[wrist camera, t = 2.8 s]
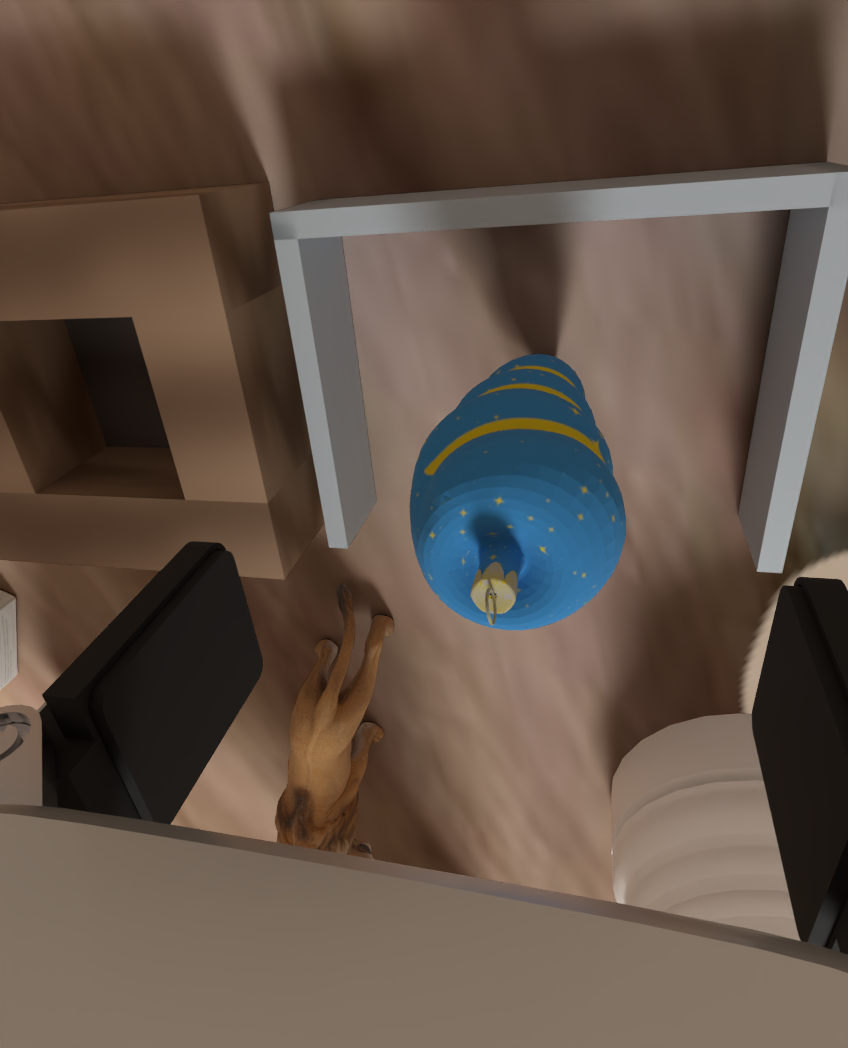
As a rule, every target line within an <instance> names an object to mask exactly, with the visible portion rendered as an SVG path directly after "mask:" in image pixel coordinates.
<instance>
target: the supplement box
mask: <svg viewBox="0 0 848 1048" xmlns="http://www.w3.org/2000/svg"><path fill="white" fill-rule="evenodd" d="M17 674H18V666H17V632H16V598H15V597H14V596H12V595H10V594H8V593H6V592H4V591H2V590H0V690H1V689H2V688H3V687H5V686H6V685H7V684H8V683H9V682H10V681H11V680H12V679H13V678H14V677H15V676H16V675H17Z"/></svg>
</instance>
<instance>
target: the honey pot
mask: <svg viewBox="0 0 848 1048" xmlns="http://www.w3.org/2000/svg"><path fill="white" fill-rule="evenodd" d="M611 853H612V868H613V874H612V886H613V891H614V895H615V898H616V901H617V903H621V904H626V905H631V906H636V907H642V908H647V909H652V910H657V911H662V912H667V913H672V914H677V915H682V916H687V917H692V918H698V919H703V920H708V921H713V922H718V923H723V924H728V925H733V926H738V927H743V928H748V929H753V930H757V931H761V932H765V933H769V934H774V935H778V936H782V937H786V938H790V939H794V940H799V941H801V940H800V938H799V935H798V932H797V928H796V923H795V919H794V914H793V910H792V905H791V901H790V896H789V892H788V887H787V883H786V879H785V874H784V870H783V865H782V861H781V856H780V852H779V847H778V843H777V838H776V834H775V829H774V825H773V821H772V816H771V812H770V807H769V803H768V798H767V794H766V789H765V785H764V780H763V776H762V772H761V767H760V763H759V758H758V754H757V749H756V745H755V740H754V736H753V730H752V714H746V713H745V714H743V713H739V714H726V715H713V716H702V717H699V718H695V719H691V720H688V721H684V722H680V723H677V724H673V725H669V726H667V727H665V728H664V729H662V730H660V731H658V732H656V733H654V734H652V735H650V736H648V737H646V738H644V739H643V740H641V741H640V742H639V743H638V744H637V745H636V746H635V747H634V748H633V749H632V750H631V751H630V752H629V753H628V754H626V755H625V756H624V757H623V759H622V761H621V763H620V765H619V767H618V768H617V770H616V772H615V774H614V776H613V780H612V793H611Z"/></svg>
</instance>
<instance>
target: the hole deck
mask: <svg viewBox="0 0 848 1048" xmlns="http://www.w3.org/2000/svg"><path fill="white" fill-rule="evenodd" d="M270 212H274V209H273V204H272V198H271V192H270V187H269V182H262V183H250V184H238V185H226V186H214V187H202V188H190V189H178V190H166V191H153V192H141V193H129V194H117V195H105V196H93V197H81V198H69V199H57V200H45V201H33V202H21V203H9V204H0V560H10V561H25V562H39V563H53V564H68V565H82V566H97V567H111V568H125V569H140V570H154V571H161V570H162V569H163V568H164V567H165V566H166V565H167V563H168V562H169V561H170V560H171V559H172V558H173V557H174V556H175V555H176V554H177V553H178V552H179V551H180V550H181V549H182V548H183V547H184V546H185V545H186V544H187V543H188V542H191V541H200V542H217V543H221V544H223V546H224V547H225V548H226V551H230V552H231V553H232V554H233V556H234V559H235V562H236V566H237V569H238V573H239V576H241V577H255V578H269V579H284V580H285V578H286V577H287V576H288V574H289V573H290V571H291V570H292V569H293V567H294V566H295V564H296V563H297V561H298V560H299V559H300V557H301V556H302V554H303V553H304V551H305V550H306V549H307V547H308V546H309V544H310V543H311V541H312V540H313V539H314V537H315V536H316V534H317V533H318V531H319V530H320V529H321V527H322V526H323V524H324V523H325V522H324V516H323V511H322V505H321V500H320V494H319V488H318V483H317V477H316V472H315V466H314V460H313V455H312V449H311V444H310V438H309V432H308V427H307V421H306V416H305V410H304V405H303V399H302V393H301V388H300V382H299V377H298V371H297V365H296V360H295V354H294V349H293V343H292V337H291V332H290V326H289V321H288V315H287V309H286V304H285V298H284V293H283V287H282V282H281V276H280V270H279V265H278V259H277V254H276V248H275V242H274V237H273V231H272V226H271V220H270V214H269V213H270Z"/></svg>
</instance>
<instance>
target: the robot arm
mask: <svg viewBox="0 0 848 1048" xmlns="http://www.w3.org/2000/svg"><path fill="white" fill-rule="evenodd" d="M262 667H263V660H262V655H261V651H260V648H259V644H258V641H257V637H256V634H255V630H254V626H253V623H252V619H251V616H250V612H249V609H248V605H247V601H246V598H245V594H244V591H243V587H242V584H241V580H240V577H239V573H238V569H237V566H236V562H235V559H234V556H233V554H232V553H231V552H230V551H226V548H225V547H224V546H223V544H221V543H217V542H200V541H191V542H188V543H187V544H186V545H185V546H184V547H183V548H182V549H181V550H180V551H179V552H178V553H177V554H176V555H175V556H174V557H173V558H172V559H171V560H170V561H169V562H168V563H167V565H166V566H165V567H164V568H163V569H162V570H161V571H160V572H159V573H158V574H157V575H156V576H155V577H154V578H153V579H152V580H151V581H150V582H149V583H148V584H147V585H146V587H145V588H144V589H143V590H142V591H141V592H140V593H139V594H138V595H137V596H136V597H135V598H134V599H133V600H132V601H131V602H130V603H129V604H128V605H127V606H126V607H125V609H124V610H123V611H122V612H121V613H120V614H119V615H118V616H117V617H116V618H115V619H114V620H113V621H112V622H111V623H110V624H109V625H108V626H107V627H106V628H105V629H104V631H103V632H102V633H101V634H100V635H99V636H98V637H97V638H96V639H95V640H94V641H93V642H92V643H91V644H90V645H89V646H88V647H87V648H86V649H85V650H84V651H83V653H82V654H81V655H80V656H79V657H78V658H77V659H76V660H75V661H74V662H73V663H72V664H71V665H70V666H69V667H68V668H67V669H66V670H65V671H64V672H63V673H62V675H61V676H60V677H59V678H58V679H57V680H56V681H55V682H54V683H53V684H52V685H51V686H50V687H49V688H48V689H47V690H46V691H45V692H44V693H43V694H42V696H43V698H44V700H45V701H46V703H47V705H46V706H45V707H44V708H43V709H42V710H41V711H40V712H37V711H36V710H35V709H34V708H32V707H29V706H24V705H12V706H5V707H1V708H0V1048H848V591H847V589H846V586H845V584H844V583H843V582H842V581H841V580H839V579H825V578H808V577H799V578H797V579H796V581H795V583H794V586H785V585H784V586H782V588H781V590H780V593H779V597H778V602H777V606H776V611H775V615H774V619H773V623H772V628H771V632H770V636H769V641H768V645H767V650H766V653H765V658H764V662H763V666H762V671H761V675H760V679H759V684H758V688H757V692H756V697H755V701H754V705H753V710H752V730H753V736H754V740H755V745H756V749H757V754H758V758H759V763H760V767H761V772H762V776H763V780H764V785H765V789H766V794H767V798H768V803H769V807H770V812H771V816H772V821H773V825H774V829H775V834H776V838H777V843H778V847H779V852H780V856H781V861H782V865H783V870H784V874H785V879H786V883H787V887H788V892H789V896H790V901H791V905H792V910H793V914H794V919H795V923H796V928H797V932H798V935H799V938H800V940H801V941H799V940H794V939H790V938H786V937H782V936H778V935H774V934H769V933H765V932H761V931H757V930H753V929H748V928H743V927H738V926H733V925H728V924H723V923H718V922H713V921H708V920H703V919H698V918H692V917H687V916H682V915H677V914H672V913H667V912H662V911H657V910H652V909H647V908H642V907H636V906H631V905H626V904H621V903H615V902H609V901H604V900H598V899H593V898H587V897H582V896H576V895H571V894H565V893H560V892H554V891H548V890H543V889H537V888H532V887H526V886H521V885H515V884H510V883H504V882H498V881H493V880H487V879H482V878H476V877H471V876H465V875H460V874H454V873H448V872H442V871H437V870H431V869H425V868H420V867H414V866H408V865H403V864H397V863H391V862H385V861H380V860H374V859H368V858H363V857H357V856H351V855H345V854H340V853H334V852H328V851H322V850H317V849H311V848H305V847H299V846H293V845H288V844H282V843H276V842H270V841H264V840H258V839H253V838H247V837H241V836H235V835H229V834H223V833H217V832H211V831H205V830H199V829H193V828H187V827H181V826H175V825H170V824H171V822H172V821H173V819H174V818H175V816H176V814H177V813H178V811H179V810H180V808H181V806H182V805H183V803H184V801H185V800H186V798H187V796H188V795H189V793H190V791H191V790H192V788H193V786H194V785H195V783H196V782H197V780H198V778H199V777H200V775H201V773H202V772H203V770H204V768H205V767H206V765H207V763H208V762H209V760H210V758H211V757H212V755H213V754H214V752H215V750H216V749H217V747H218V745H219V744H220V742H221V740H222V739H223V737H224V735H225V734H226V732H227V730H228V729H229V727H230V726H231V724H232V722H233V721H234V719H235V717H236V716H237V714H238V712H239V711H240V709H241V707H242V706H243V704H244V702H245V701H246V699H247V697H248V696H249V694H250V693H251V691H252V689H253V688H254V686H255V684H256V683H257V681H258V679H259V677H260V675H261V672H262Z"/></svg>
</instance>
